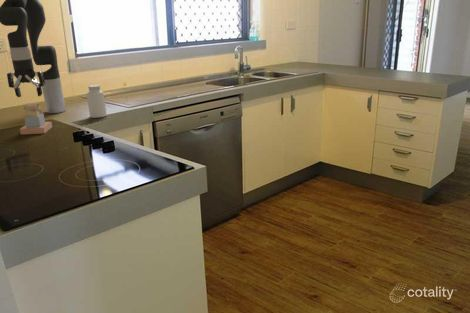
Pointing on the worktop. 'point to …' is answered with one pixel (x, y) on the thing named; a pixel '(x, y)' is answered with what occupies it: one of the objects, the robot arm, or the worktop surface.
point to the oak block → (32, 109)
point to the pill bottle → (96, 102)
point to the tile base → (36, 129)
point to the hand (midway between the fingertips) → (29, 96)
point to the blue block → (35, 121)
